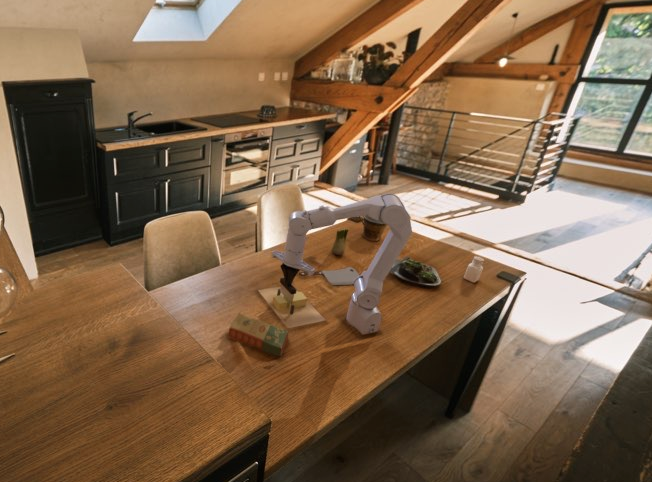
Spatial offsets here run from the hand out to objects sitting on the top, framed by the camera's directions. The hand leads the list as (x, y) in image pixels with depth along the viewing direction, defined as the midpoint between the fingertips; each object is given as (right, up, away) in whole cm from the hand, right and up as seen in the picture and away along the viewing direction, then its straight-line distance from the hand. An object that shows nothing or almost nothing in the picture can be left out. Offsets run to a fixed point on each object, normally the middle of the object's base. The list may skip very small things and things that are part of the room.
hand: (288, 283), depth 126 cm
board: (+2, -9, +4) cm, 10 cm away
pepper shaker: (+78, -4, +22) cm, 81 cm away
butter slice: (-2, -8, +3) cm, 9 cm away
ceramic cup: (+53, +10, +53) cm, 75 cm away
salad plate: (+56, -2, +24) cm, 61 cm away
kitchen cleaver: (+23, -3, +21) cm, 31 cm away
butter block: (+3, -8, +4) cm, 10 cm away
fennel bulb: (+32, +4, +37) cm, 49 cm away
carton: (-12, -15, -10) cm, 22 cm away
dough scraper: (0, -5, +2) cm, 6 cm away
